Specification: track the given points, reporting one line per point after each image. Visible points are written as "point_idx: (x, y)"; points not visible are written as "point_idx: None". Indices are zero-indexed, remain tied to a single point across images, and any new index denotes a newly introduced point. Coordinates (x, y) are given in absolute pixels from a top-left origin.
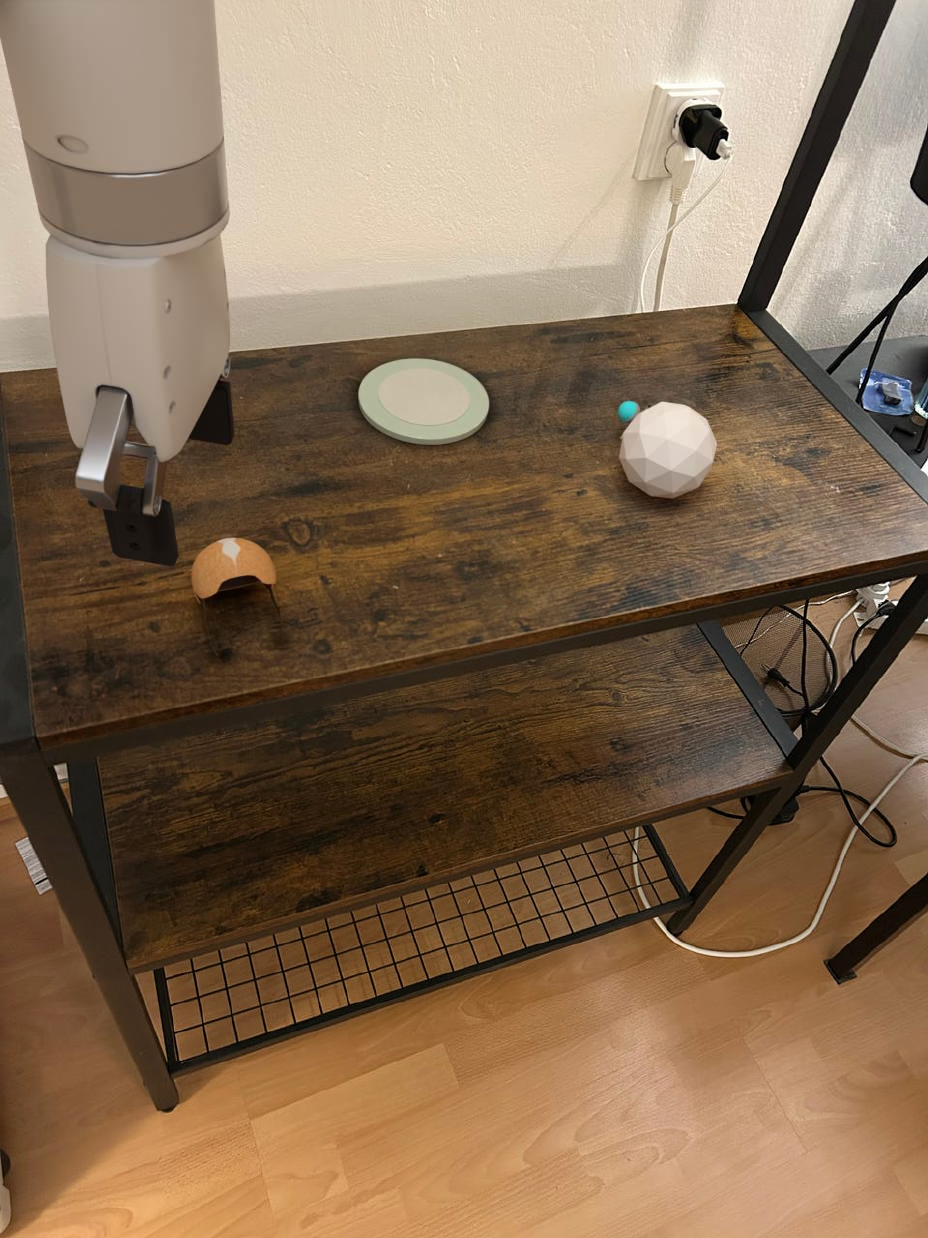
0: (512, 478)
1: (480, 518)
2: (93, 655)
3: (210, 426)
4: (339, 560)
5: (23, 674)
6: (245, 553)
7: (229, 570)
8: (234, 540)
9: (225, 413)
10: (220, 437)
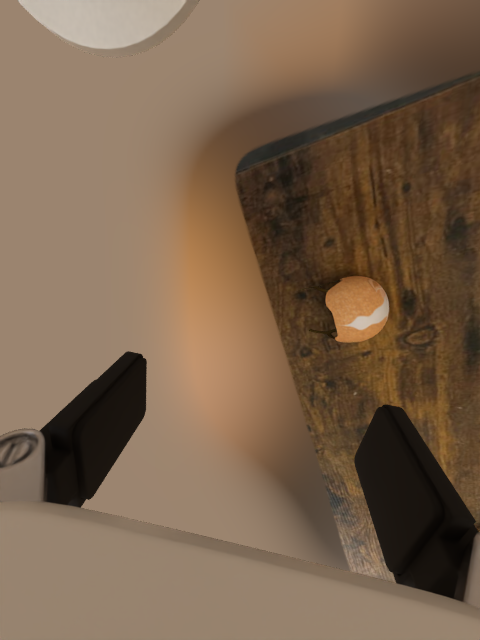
0: (453, 465)
1: None
2: (302, 201)
3: (370, 469)
4: (385, 362)
5: (284, 148)
6: (356, 332)
7: (339, 320)
8: (373, 323)
9: (372, 518)
10: (360, 463)
